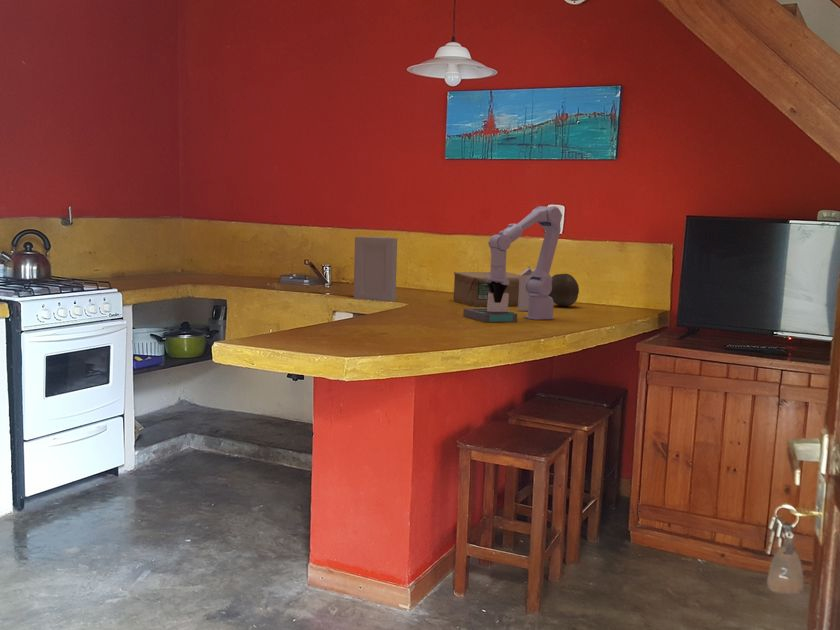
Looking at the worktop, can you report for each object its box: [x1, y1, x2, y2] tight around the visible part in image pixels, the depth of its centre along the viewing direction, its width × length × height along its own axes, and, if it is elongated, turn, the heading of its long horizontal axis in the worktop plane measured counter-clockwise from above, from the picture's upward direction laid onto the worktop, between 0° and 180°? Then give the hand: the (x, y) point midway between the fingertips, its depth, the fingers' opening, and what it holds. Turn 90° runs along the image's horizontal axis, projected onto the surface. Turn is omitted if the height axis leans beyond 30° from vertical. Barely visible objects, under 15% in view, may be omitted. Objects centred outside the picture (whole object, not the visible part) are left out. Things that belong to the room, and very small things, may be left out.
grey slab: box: [486, 293, 509, 312], centre depth 310 cm, size 8×2×7 cm, turn 113°
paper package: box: [453, 271, 520, 308], centre depth 369 cm, size 27×26×14 cm
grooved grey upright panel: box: [353, 236, 398, 302], centre depth 374 cm, size 19×15×28 cm
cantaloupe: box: [549, 273, 580, 308], centre depth 366 cm, size 14×14×15 cm
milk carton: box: [517, 265, 536, 312], centre depth 347 cm, size 7×7×19 cm
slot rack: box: [462, 307, 518, 323], centre depth 315 cm, size 14×18×3 cm
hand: (496, 302), depth 310 cm, fingers closed on grey slab, 2 cm apart
